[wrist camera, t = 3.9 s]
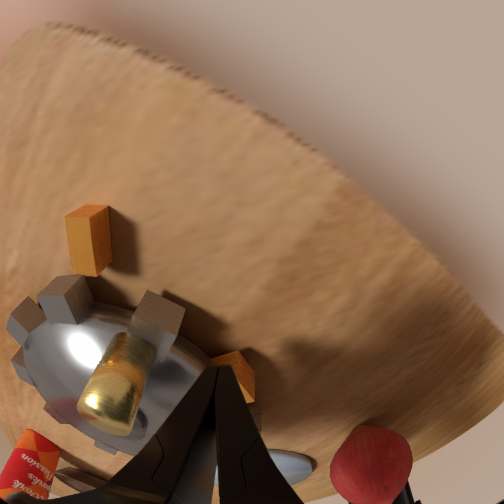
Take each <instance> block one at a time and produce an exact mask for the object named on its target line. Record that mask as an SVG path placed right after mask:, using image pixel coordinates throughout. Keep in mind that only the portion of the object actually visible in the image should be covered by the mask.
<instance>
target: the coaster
mask: <svg viewBox="0 0 504 504" xmlns="http://www.w3.org/2000/svg"><path fill="white" fill-rule="evenodd" d="M267 450H268V452H269V454H270V456H271V458H272V460H273V461H274V463H275V464H276V466H277V468H278V469H279V471H280V472H281V473H282V475H283V476H284V478H285V479H286V480H287V482H288V483H289V485H290V486H291V485H294V484H297V483H300V482H302V481H304V480H305V479H307V478H308V477H309V476H310V475H311V474H312V464H311V461H310V459H309V458H308V457H306V456H304V455H302V454H299V453H295V452H290V451H284V450H274V449H267ZM214 484H216V485H218V470H217V467H216V474H215V480H214Z"/></svg>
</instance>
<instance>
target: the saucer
mask: <svg viewBox="0 0 504 504" xmlns="http://www.w3.org/2000/svg"><path fill="white" fill-rule="evenodd" d="M54 476H55V477H56V478H58V479H59V480H60V481H62V482H63V483H65V484H66V485H68V486H69V487H71V488H73V489H75V490H77V491H78V492H80V493H82V492H86V491H89V490H93V489H95V488H98V487H100V486H101V485H103V484H105V483H106V482H107V481H105V480H103V479H101V478H98V477H96V476H94V475H91V474H89V473H86V472H83V471H80V470H77V469H74V468H64V469H60V470H57V471H55V474H54Z"/></svg>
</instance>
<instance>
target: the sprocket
mask: <svg viewBox="0 0 504 504" xmlns="http://www.w3.org/2000/svg"><path fill="white" fill-rule="evenodd" d="M37 298H38V301H39V303H40V305H41V307H42V309H43V311H44V312H43V311H42V310H41V309H40V308H39V307H38V306H37V304H36V303H35V302H34V301H33V300H32V299H31V298H30V297H29V296H28V297H27V298H26V299H25V300H24V301H23V302H22V303H21V304H20V305H19V306H18V307H17V308H16V309H15V310H14V311H13V312H12V313H11V314H10V317H9V320H8V323H7V327H6V330H7V331H8V332H9V333H10V334H11V335H12V336H13V337H14V338H15V340H16V341H17V342H18V343H19V344H20V345H21V348H20V349H19V350H18V352H17V353H16V354H15V356H14V357H13V358H12V360H11V362H12V364H13V366H14V368H15V370H16V372H17V374H18V376H19V378H20V379H22V380H23V381H25V382H27V383H29V384H31V385H33V386H35V387H36V389H37V390H38V392H39V393H40V395H41V396H42V397H43V398H44V400H45V401H46V404H45V406H44V408H43V409H44V410H45V411H46V412H48V413H49V414H50V415H51V416H52V417H53V418H54V419H55V420H56V421H58V422H59V423H60V424H71V425H72V426H73V427H75V428H76V429H78V430H79V431H81V432H82V433H84V434H85V435H87V436H88V437H90V438H92V439H94V440H95V445H94V446H96V447H98V448H100V449H102V450H104V451H107V452H109V453H111V454H113V455H116V453H117V451H120V452H123V453H126V454H129V455H132V456H135V455H136V454H137V453H138V452H139V451H140V450H141V449H142V448H143V447H144V446H145V445H146V443H147V442H148V441H149V440H150V439H151V437H152V436H153V435H154V434H156V431H157V430H158V429H159V427H160V426H161V425H162V424H163V422H164V421H165V420H166V419H167V417H168V416H169V415H170V413H171V412H172V411H173V410H174V408H175V407H176V406H177V404H178V403H179V402H180V401H181V399H182V398H183V397H184V395H185V394H186V393H187V391H188V390H189V389H190V387H191V386H192V385H193V384H194V382H195V381H196V380H197V378H198V377H199V376H200V374H201V373H202V372H203V370H204V369H205V368H206V366H208V365H219V366H220V365H231V366H232V368H233V370H234V373H235V375H236V378H237V380H238V383H239V385H240V388H241V390H242V393H243V395H244V398H245V400H246V402H247V403H250V402H254V401H255V373H254V372H253V370H252V369H251V368H250V366H249V365H248V363H247V362H246V361H245V359H244V358H243V356H242V355H241V353H240V352H239V350H237V351H234V352H231V353H228V354H224V355H221V356H218V357H214V358H210V357H208V356H207V355H206V354H205V353H204V352H203V351H202V350H201V349H200V348H198V347H197V346H195V345H194V344H193V343H191V342H190V341H189V340H187V339H186V338H184V337H183V336H181V335H180V334H178V331H179V328H180V325H181V322H182V319H183V316H184V313H185V310H186V308H184V307H182V306H180V305H178V304H175V303H173V302H171V301H169V300H167V299H165V298H163V297H161V296H159V295H157V294H155V293H153V292H151V291H149V290H148V289H147V291H146V293H145V295H144V296H143V298H142V300H141V302H140V303H139V305H138V307H137V309H136V310H135V312H133V311H130V310H127V309H124V308H121V307H118V306H113V305H109V304H105V303H98V302H94V299H93V297H92V295H91V292H90V289H89V287H88V284H87V282H86V279H85V276H84V275H81V274H78V275H68V276H58V277H56V278H55V279H54V280H53V281H51V282H50V283H49V284H48V285H47V286H46V287H45V288H44V289H43V290H42V291H41V292H40V293H39V294H38V295H37ZM248 407H249V406H248ZM249 410H250V412H251V414H252V417H253V419H254V421H255V424H256V426H257V428H258V431H259V433H260V435H261V408H259V407H249Z"/></svg>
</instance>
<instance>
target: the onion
mask: <svg viewBox="0 0 504 504" xmlns="http://www.w3.org/2000/svg"><path fill="white" fill-rule="evenodd" d="M412 462H413V457H412V452H411V449H410V446H409V444H408V442H407V441H406V440H405V438H404V437H403V436H401V435H399V434H398V433H396V432H394V431H391V430H388V429H384V428H380V427H373V426H368V425H359V426H357V427H356V428H355V429H354V430H353V431H352V433H351V434H350V436H349V437H348V438H347V439H346V440H345V441H344V442H343V444H342V445H341V447H340V448H339V449H338V451H337V452H336V454H335V455H334V458H333V460H332V462H331V465H330V478H331V481H332V484H333V486H334V487H335V489H336V490H337V492H338V493H339V494H340V495H341V496H342V497H343V498H344V499H346V500H347V501H349V502H350V503H353V504H392V502H393V501H394V499H395V498H396V497H397V496H398V495H399V493H400V492H401V491H402V490H403V488H404V487H405V485H406V483H407V480H408V477H409V475H410V472H411V469H412Z"/></svg>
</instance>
